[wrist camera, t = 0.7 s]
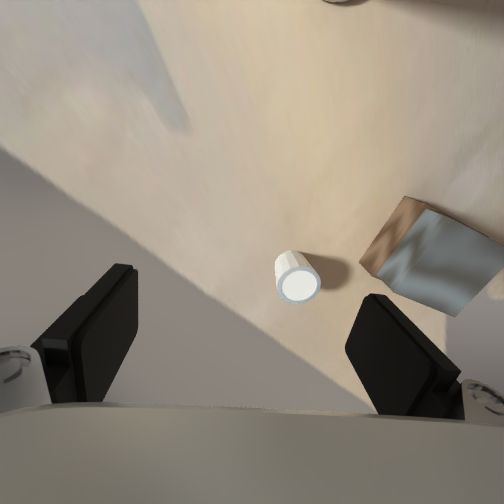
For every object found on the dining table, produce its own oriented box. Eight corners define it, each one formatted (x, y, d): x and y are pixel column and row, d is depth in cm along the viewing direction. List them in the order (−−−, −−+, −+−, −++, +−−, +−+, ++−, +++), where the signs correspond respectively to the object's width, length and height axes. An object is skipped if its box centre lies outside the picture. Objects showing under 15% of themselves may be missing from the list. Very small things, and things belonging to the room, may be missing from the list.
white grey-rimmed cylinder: (314, 271, 46) (327, 294, 40) (280, 286, 47) (287, 310, 41) (301, 240, 43) (312, 259, 37) (264, 257, 44) (269, 278, 38)
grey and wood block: (404, 196, 41) (452, 214, 32) (463, 226, 44) (522, 250, 34) (358, 262, 45) (388, 294, 36) (414, 285, 48) (454, 320, 39)
